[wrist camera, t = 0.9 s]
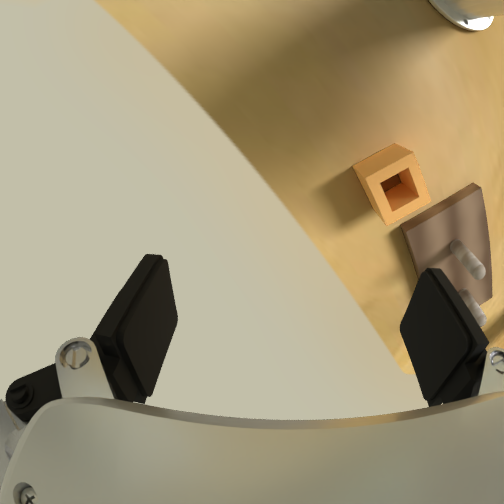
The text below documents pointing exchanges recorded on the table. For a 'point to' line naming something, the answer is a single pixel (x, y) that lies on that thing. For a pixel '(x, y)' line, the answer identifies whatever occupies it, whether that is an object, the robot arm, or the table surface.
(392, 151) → the collar
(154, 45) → the table surface
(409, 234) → the post board
